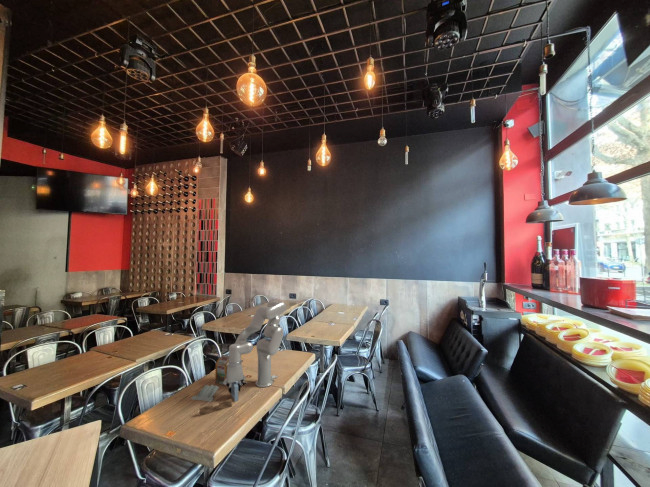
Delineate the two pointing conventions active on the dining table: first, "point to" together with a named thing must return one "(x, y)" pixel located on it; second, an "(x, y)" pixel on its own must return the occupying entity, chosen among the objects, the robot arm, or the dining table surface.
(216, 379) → the milk carton
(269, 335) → the robot arm
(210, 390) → the metal bracket
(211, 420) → the dining table surface
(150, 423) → the dining table surface
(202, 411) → the walnut board
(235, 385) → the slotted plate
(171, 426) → the dining table surface
